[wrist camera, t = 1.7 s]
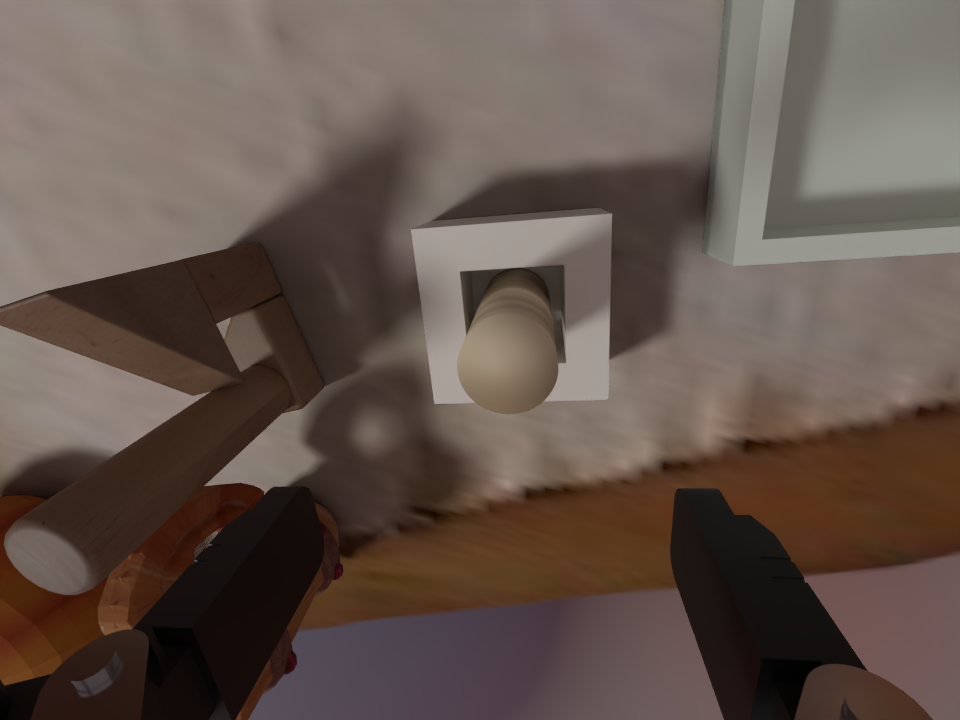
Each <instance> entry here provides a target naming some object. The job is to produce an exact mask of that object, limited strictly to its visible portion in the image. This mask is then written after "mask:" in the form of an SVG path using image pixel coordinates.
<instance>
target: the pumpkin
mask: <svg viewBox="0 0 960 720" xmlns="http://www.w3.org/2000/svg"><path fill="white" fill-rule="evenodd" d="M46 500H47V499H43V498H39V497H35V496H31V495H9V496H4V497H0V680H1V681H2V683H3V684H4V686H5V685H9V684H13V683H17V682H21V681H25V680H29V679H33V678H37V677H41V676H45V675H49V674H52V673H53V672H54V671H55V670H56V669H57V668H58V667H59V666H60V665H61V664H62V663H63V662H64V661H65V660H66V659H67V658H69V657H70V656H71V655H73V654H74V653H75V652H76V651H78V650H79V649H81V648H82V647H84V646H85V645H87V644H89V643H91V642H92V641H94V640H96V639H98V638H100V637H102V636H105V635H104V634H103V633H102V631H101V628H100V626H99V623H98V606H99V603H100V600H101V597H102V594H103V591H104V588H105V585H106V582H107V579H108V577H109V575H108V576H107V577H106V578H105V579H103V580H102V581H101V582H100V583H99V584H98V585H97V586H96V587H95V588H93V589H91V590H89V591H86V592H84V593H81V594H78V595H63V594H58V593H54V592H51V591H48V590H46V589H44V588H42V587H39V586H37V585H36V584H34V583H33V582H31V581H30V580H29V579H27V578H26V577H24V576H23V575H22V574H21V573H20V572H19V571H18V570H17V569H16V568H15V567H14V565H13V564H12V562H11V561H10V559H9V557H8V556H7V553H6V550H5V546H4V540H5V534H6V533H7V532H8V530H9V529H10V527H11V526H12V525H13V524H14V522H15V521H16V520H17V519H19V518H20V517H22V516H23V515H25V514H26V513H28V512H29V511H31V510H33V509H34V508H36V507H37V506H39V505H40V504H42V503H43V502H45V501H46Z"/></svg>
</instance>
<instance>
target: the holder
mask: <svg viewBox="0 0 960 720" xmlns="http://www.w3.org/2000/svg"><path fill="white" fill-rule="evenodd" d="M411 234H412V241H413V248H414V256H415V263H416V271H417V278H418V286H419V293H420V300H421V308H422V315H423V323H424V330H425V338H426V345H427V352H428V360H429V367H430V375H431V382H432V390H433V397H434V404H455V403H475V402H474V401H473V400H472V399H471V398H470V397H469V396H468V395H467V393H466V392H465V391H464V389H463V387H462V385H461V383H460V380H459V377H458V372H457V360H458V355H459V352H460V349H461V347H462V344H463V342H464V340H465V337H466V335H467V333H468V330H469V328H470V326H471V324H472V321H473V319H474V317H475V314H476V312H477V310H478V307H479V305H480V303H481V300H482V298H483V296H484V293H485V291H486V289H487V286H488V284H489V283H490V281H491V280H492V279H493V278H494V277H495V276H496V275H497V274H498V273H500V272H502V271H504V270H506V269H510V268H525V269H528V270H531V271H533V272H534V273H536V274H537V275H539V276H540V277H541V278H542V280H543V281H544V282H545V284H546V286H547V288H548V291H549V297H550V305H551V312H552V320H553V327H554V335H555V343H556V350H557V358H558V377H557V381H556V384H555V386H554V388H553V390H552V392H551V393H550V395H549V396H548V397H547V398H546V399H545V400H544V401H573V400H608V388H609V339H610V291H611V242H612V213H610V212H607V211H605V210H603V209H601V208H586V209H574V210H562V211H549V212H537V213H524V214H512V215H499V216H487V217H474V218H462V219H450V220H437V221H430V222H428V223H425V224H423V225H420V226H418V227H416V228H413V229H411Z"/></svg>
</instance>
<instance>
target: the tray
mask: <svg viewBox="0 0 960 720" xmlns="http://www.w3.org/2000/svg"><path fill="white" fill-rule="evenodd" d="M955 252H960V0H725V9H724V20H723V31H722V42H721V52H720V63H719V74H718V85H717V96H716V107H715V118H714V129H713V139H712V150H711V161H710V172H709V183H708V194H707V205H706V215H705V226H704V237H703V248H702V253H704V254H707V255H709V256H711V257H713V258H716V259H718V260H720V261H723V262H725V263H727V264H729V265H732V266H743V265H759V264H775V263H792V262H808V261H824V260H841V259H857V258H873V257H890V256H906V255H922V254H938V253H955Z"/></svg>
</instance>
